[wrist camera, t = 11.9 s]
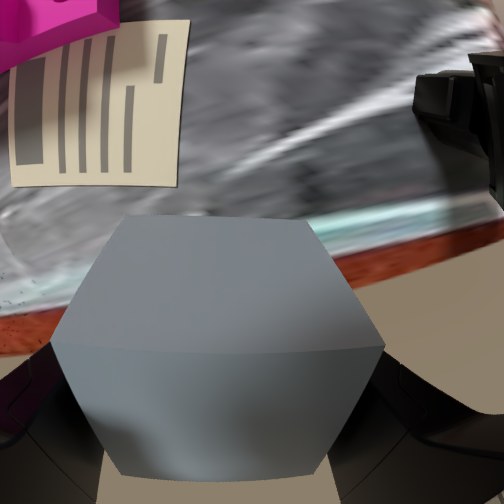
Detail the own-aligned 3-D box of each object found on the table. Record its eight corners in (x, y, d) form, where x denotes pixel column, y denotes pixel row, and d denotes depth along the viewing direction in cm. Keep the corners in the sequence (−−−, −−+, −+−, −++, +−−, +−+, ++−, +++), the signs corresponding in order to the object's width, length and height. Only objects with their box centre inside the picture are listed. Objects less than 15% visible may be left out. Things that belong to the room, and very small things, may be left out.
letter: (190, 20, 13) (189, 19, 13) (176, 186, 18) (176, 186, 18) (13, 44, 12) (12, 44, 12) (12, 186, 16) (12, 187, 16)
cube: (306, 220, 9) (386, 344, 4) (282, 350, 11) (313, 474, 7) (126, 214, 8) (50, 340, 4) (143, 348, 10) (121, 474, 6)
